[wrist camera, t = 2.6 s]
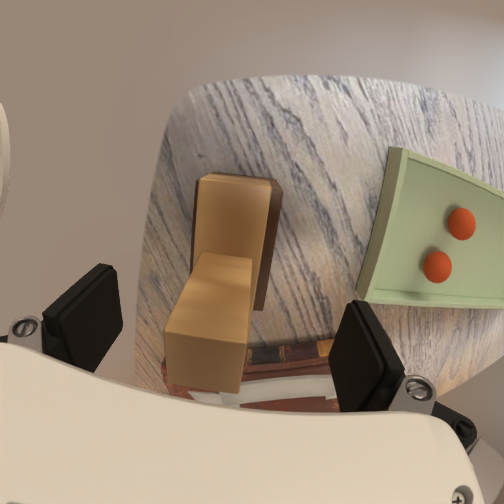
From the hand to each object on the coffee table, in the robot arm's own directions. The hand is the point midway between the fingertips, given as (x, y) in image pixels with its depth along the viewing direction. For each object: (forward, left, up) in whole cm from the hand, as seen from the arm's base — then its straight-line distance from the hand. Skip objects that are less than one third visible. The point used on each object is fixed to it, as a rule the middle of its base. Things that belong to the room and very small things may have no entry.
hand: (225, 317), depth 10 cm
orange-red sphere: (+18, 0, -11) cm, 21 cm away
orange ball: (+20, +4, -11) cm, 23 cm away
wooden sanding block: (0, 0, -7) cm, 7 cm away
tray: (+25, +2, -13) cm, 28 cm away
